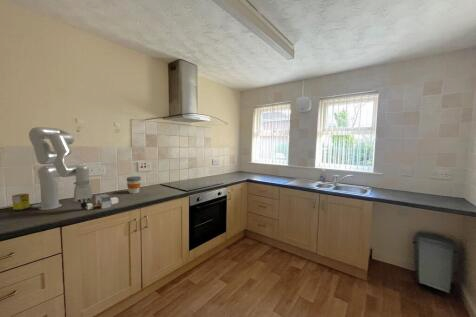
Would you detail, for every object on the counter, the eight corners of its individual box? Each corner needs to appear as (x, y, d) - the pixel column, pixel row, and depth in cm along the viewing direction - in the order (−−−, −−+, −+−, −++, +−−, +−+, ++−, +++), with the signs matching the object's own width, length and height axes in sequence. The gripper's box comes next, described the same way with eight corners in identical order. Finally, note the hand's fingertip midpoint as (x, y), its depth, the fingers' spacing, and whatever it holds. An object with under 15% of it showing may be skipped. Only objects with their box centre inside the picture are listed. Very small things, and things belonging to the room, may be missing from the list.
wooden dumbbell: (88, 209, 145) (88, 204, 145) (85, 208, 147) (85, 203, 147) (119, 202, 163) (119, 197, 163) (116, 201, 166) (116, 197, 166)
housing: (102, 208, 148) (101, 198, 147) (95, 204, 156) (95, 194, 156) (111, 206, 153) (110, 196, 152) (104, 203, 161) (104, 193, 161)
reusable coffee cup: (136, 190, 207) (136, 176, 205) (143, 191, 200) (143, 177, 199) (124, 192, 196) (123, 177, 195) (131, 194, 189) (131, 179, 188)
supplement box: (29, 207, 146) (29, 193, 145) (21, 210, 140) (20, 195, 139) (21, 207, 146) (20, 193, 145) (12, 210, 140) (11, 195, 139)
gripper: (70, 185, 135) (72, 211, 136) (96, 182, 147) (97, 206, 148) (68, 184, 140) (69, 209, 141) (93, 181, 151) (94, 204, 153)
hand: (83, 207), depth 144 cm, fingers closed
